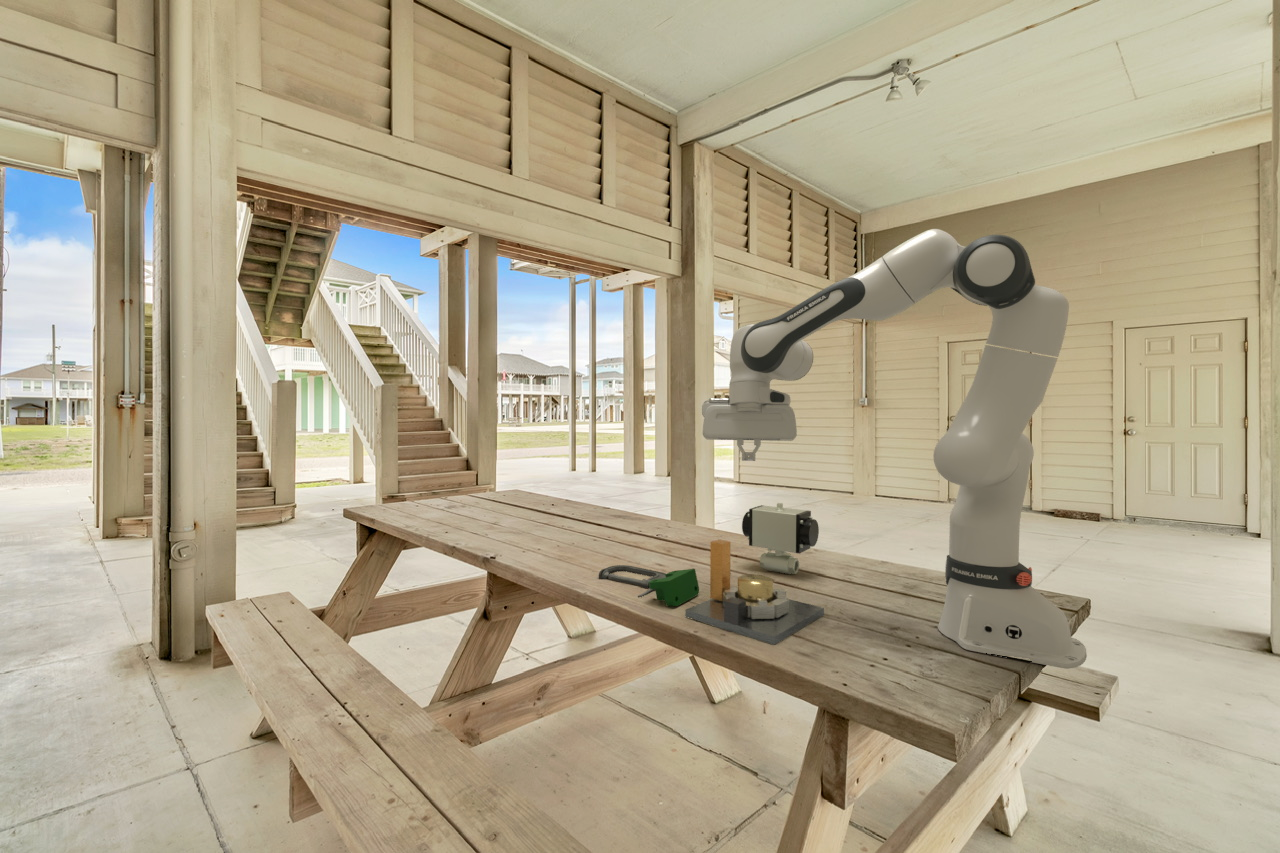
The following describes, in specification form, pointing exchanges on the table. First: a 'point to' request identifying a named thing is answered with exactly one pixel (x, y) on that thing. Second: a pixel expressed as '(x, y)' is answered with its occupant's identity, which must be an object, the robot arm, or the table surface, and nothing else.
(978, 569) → the robot arm
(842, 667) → the table surface
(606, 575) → the c clamp
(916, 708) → the table surface
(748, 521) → the ball valve
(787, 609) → the ring of rectangular blocks
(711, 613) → the base plate
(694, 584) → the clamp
